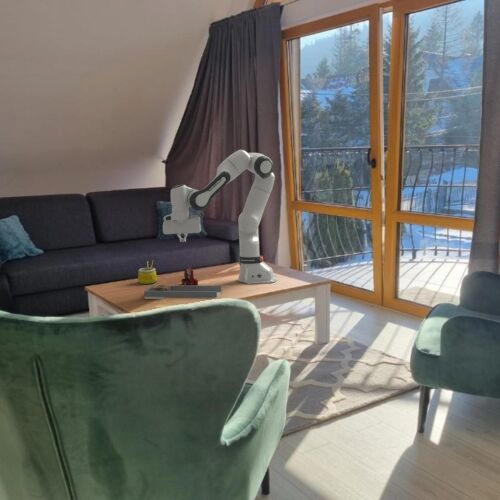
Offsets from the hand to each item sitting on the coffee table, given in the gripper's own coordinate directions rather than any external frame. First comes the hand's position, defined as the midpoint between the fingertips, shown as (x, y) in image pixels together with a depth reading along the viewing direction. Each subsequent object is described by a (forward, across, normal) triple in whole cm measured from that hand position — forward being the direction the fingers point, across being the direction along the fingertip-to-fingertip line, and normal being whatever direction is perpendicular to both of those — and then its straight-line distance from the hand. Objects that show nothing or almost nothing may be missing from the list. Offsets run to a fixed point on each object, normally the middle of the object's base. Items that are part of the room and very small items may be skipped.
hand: (183, 241), depth 304 cm
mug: (+26, +27, -18) cm, 41 cm away
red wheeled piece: (+27, +1, -9) cm, 28 cm away
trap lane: (+26, -1, +12) cm, 29 cm away
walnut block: (+25, +11, +12) cm, 30 cm away
